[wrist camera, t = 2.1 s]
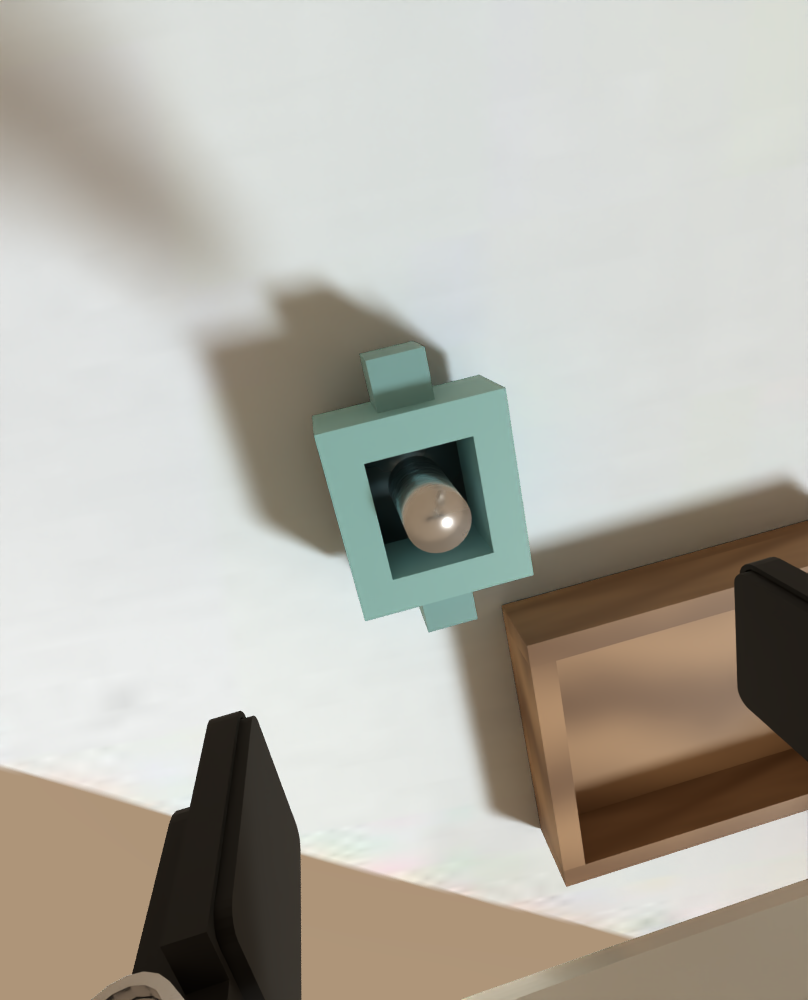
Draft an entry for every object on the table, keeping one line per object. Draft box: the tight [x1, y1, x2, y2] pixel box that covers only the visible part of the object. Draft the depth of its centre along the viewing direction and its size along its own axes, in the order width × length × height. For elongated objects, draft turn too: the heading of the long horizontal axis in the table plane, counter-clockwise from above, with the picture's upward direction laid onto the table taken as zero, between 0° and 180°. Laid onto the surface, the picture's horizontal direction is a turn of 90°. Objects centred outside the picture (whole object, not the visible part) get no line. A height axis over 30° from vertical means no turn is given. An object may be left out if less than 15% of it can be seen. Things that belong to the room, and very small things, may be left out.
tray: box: [502, 520, 808, 887], centre depth 26 cm, size 13×15×3 cm
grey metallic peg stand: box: [364, 441, 472, 553], centre depth 20 cm, size 5×5×5 cm
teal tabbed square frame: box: [312, 341, 534, 632], centre depth 20 cm, size 10×6×3 cm, turn 12°
